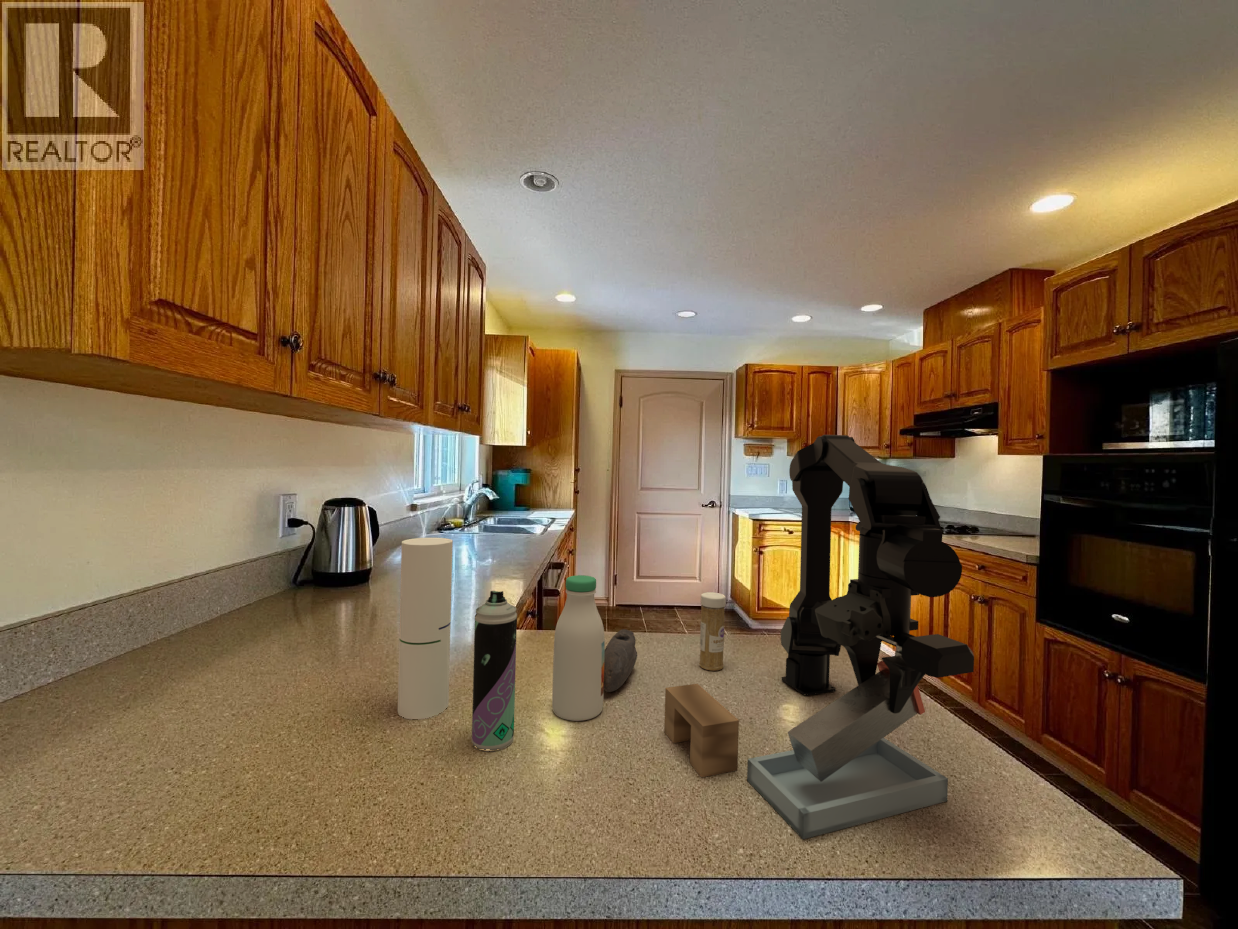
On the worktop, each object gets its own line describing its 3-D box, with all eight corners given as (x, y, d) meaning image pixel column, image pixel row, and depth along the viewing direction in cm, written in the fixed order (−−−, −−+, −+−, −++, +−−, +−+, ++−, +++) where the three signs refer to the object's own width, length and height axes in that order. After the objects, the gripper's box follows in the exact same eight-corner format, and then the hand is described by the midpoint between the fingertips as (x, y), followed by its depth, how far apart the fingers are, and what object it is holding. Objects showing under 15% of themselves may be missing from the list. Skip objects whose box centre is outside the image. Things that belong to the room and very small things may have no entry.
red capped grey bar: (891, 693, 65) (881, 660, 65) (925, 711, 61) (915, 676, 60) (794, 759, 61) (783, 724, 60) (823, 784, 56) (811, 746, 55)
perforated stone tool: (620, 703, 80) (621, 658, 80) (588, 698, 82) (589, 654, 82) (640, 666, 95) (641, 629, 95) (613, 662, 96) (614, 625, 96)
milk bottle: (596, 725, 73) (599, 585, 73) (544, 719, 75) (548, 581, 74) (608, 701, 81) (611, 574, 80) (561, 695, 82) (564, 570, 82)
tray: (876, 753, 68) (877, 733, 68) (947, 801, 59) (948, 778, 59) (747, 780, 61) (747, 758, 61) (803, 839, 52) (803, 814, 52)
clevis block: (696, 726, 74) (697, 683, 74) (737, 770, 63) (738, 720, 63) (664, 732, 72) (665, 687, 72) (701, 777, 62) (702, 726, 62)
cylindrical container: (458, 703, 79) (462, 540, 78) (422, 724, 72) (427, 546, 72) (423, 692, 82) (427, 536, 81) (386, 712, 75) (390, 542, 75)
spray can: (476, 755, 65) (480, 598, 65) (467, 734, 70) (471, 588, 70) (518, 745, 67) (522, 594, 67) (507, 726, 72) (511, 584, 72)
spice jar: (720, 673, 92) (722, 599, 92) (696, 668, 94) (698, 595, 94) (725, 664, 97) (728, 593, 96) (702, 660, 98) (704, 590, 98)
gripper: (779, 561, 68) (775, 679, 68) (899, 600, 50) (893, 759, 50) (846, 558, 71) (842, 670, 72) (980, 593, 54) (974, 741, 54)
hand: (880, 703), depth 62 cm, fingers closed on red capped grey bar, 4 cm apart
